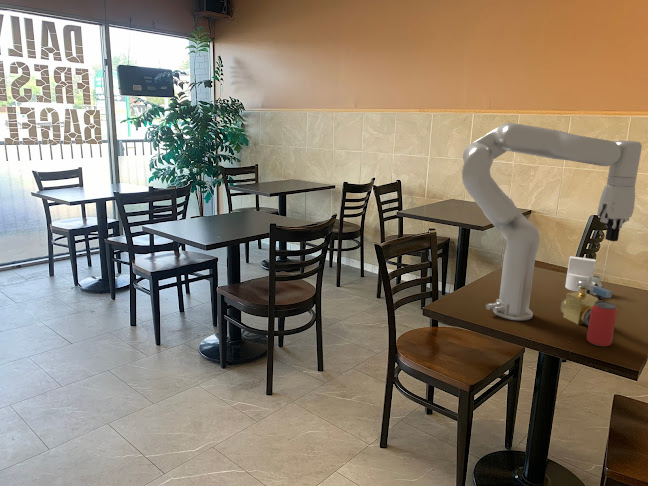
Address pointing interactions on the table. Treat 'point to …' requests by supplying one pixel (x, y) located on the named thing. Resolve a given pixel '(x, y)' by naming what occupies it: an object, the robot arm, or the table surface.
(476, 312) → the table surface
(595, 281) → the valve
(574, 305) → the pipe valve
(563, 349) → the table surface
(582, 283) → the lever
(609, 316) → the beer can
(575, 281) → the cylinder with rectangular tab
